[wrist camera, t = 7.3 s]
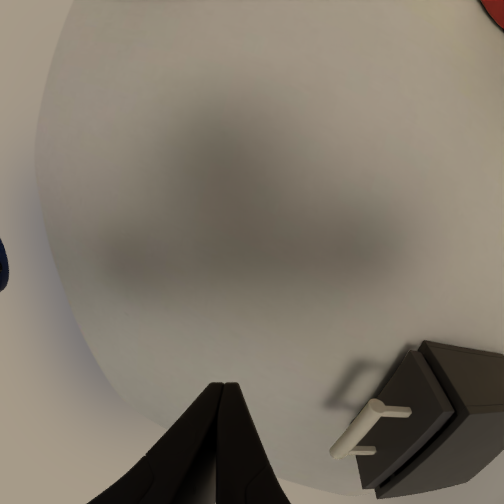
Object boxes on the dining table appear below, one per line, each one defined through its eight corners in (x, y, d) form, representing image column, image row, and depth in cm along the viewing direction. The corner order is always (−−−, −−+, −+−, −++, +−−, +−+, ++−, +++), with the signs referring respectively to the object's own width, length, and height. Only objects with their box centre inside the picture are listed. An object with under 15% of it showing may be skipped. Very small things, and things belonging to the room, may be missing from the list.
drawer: (312, 427, 23) (319, 490, 17) (368, 341, 20) (398, 410, 14) (434, 432, 24) (453, 477, 18) (490, 361, 21) (523, 406, 14)
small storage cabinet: (359, 428, 25) (376, 499, 17) (424, 339, 21) (470, 414, 13) (444, 429, 25) (467, 482, 17) (502, 354, 22) (542, 405, 13)
